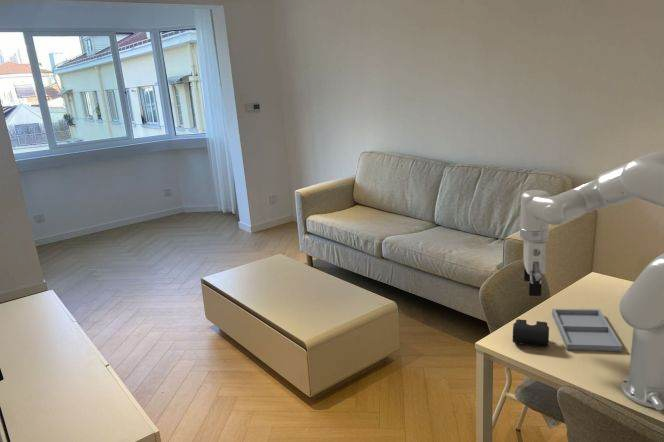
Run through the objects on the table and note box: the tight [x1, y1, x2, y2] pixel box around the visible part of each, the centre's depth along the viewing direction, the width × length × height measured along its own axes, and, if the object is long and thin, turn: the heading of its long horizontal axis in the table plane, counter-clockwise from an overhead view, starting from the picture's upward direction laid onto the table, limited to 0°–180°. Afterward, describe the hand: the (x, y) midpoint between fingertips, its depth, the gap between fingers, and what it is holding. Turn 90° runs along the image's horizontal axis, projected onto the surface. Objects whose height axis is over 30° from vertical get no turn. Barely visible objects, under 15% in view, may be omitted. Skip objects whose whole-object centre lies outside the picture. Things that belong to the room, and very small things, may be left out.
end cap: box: [512, 318, 550, 348], centre depth 151 cm, size 10×7×7 cm
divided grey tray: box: [551, 308, 623, 353], centre depth 155 cm, size 22×15×2 cm, turn 167°
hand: (532, 287), depth 146 cm, fingers open, 9 cm apart
